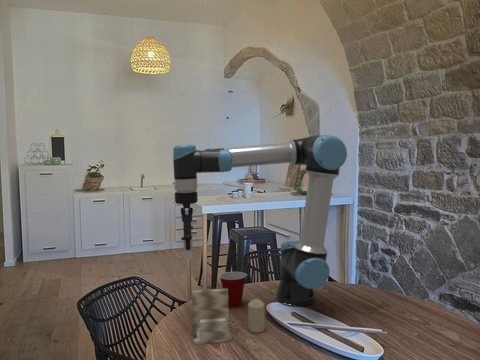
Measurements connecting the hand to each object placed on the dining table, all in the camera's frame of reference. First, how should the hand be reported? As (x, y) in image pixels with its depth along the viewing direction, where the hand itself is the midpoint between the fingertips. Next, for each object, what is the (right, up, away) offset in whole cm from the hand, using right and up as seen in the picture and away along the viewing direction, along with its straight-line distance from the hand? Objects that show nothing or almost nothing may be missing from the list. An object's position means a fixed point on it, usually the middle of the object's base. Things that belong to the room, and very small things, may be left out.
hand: (188, 253), depth 139 cm
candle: (+23, -25, -2) cm, 34 cm away
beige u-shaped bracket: (+8, -25, -5) cm, 27 cm away
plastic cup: (+15, -23, +19) cm, 34 cm away
